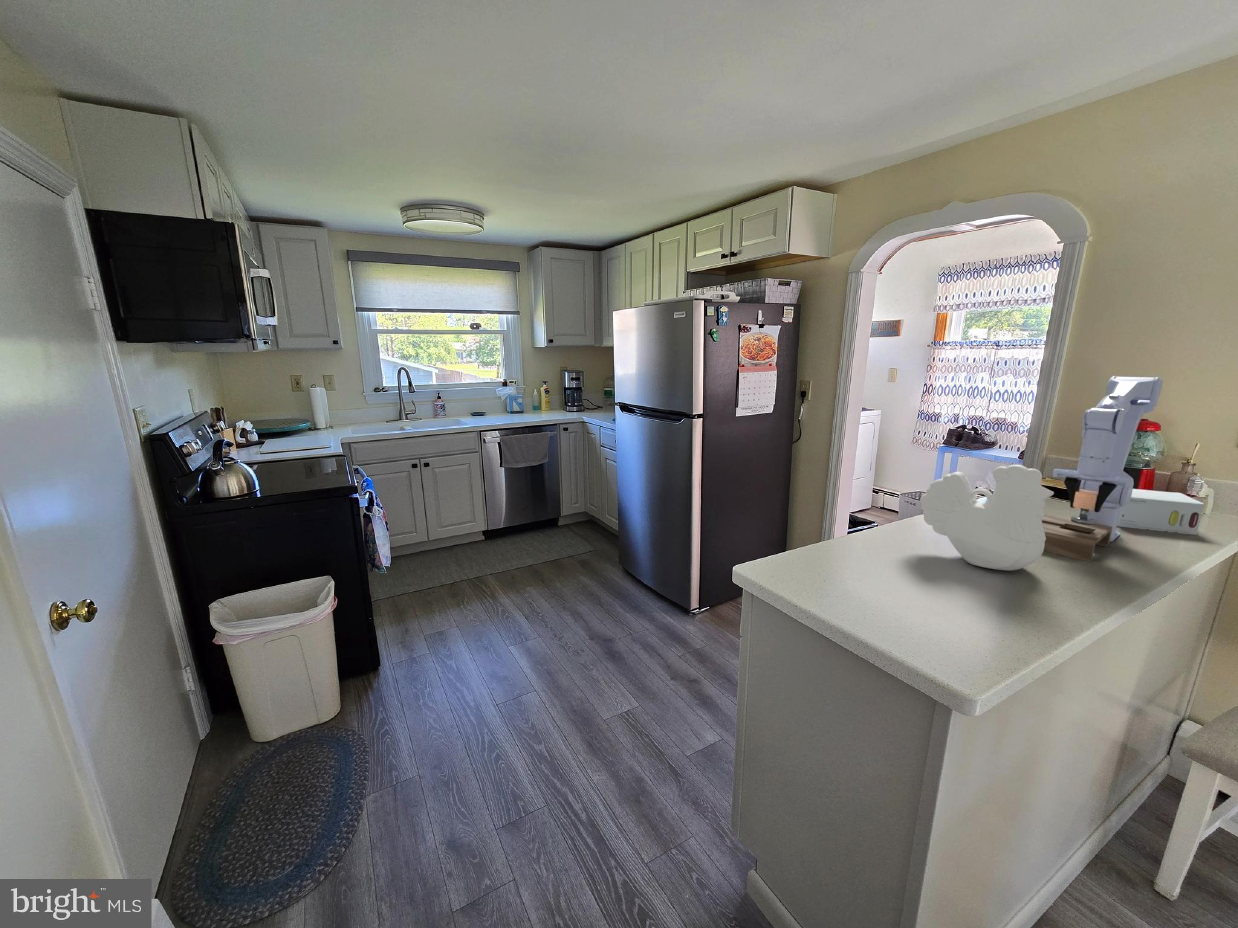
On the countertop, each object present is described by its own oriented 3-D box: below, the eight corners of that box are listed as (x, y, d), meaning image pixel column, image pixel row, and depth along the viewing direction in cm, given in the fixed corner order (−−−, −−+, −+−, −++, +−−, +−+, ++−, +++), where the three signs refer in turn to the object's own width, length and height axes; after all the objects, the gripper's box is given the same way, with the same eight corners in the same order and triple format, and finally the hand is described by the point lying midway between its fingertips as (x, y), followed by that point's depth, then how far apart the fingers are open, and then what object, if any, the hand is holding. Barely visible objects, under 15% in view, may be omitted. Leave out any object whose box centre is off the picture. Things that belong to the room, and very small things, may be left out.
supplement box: (1115, 527, 144) (1122, 495, 142) (1098, 514, 155) (1104, 485, 154) (1198, 536, 136) (1206, 503, 134) (1173, 522, 148) (1180, 491, 146)
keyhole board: (1032, 528, 143) (1035, 511, 142) (1108, 544, 130) (1112, 526, 129) (1009, 542, 133) (1012, 524, 132) (1089, 561, 120) (1093, 541, 119)
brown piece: (1073, 518, 130) (1079, 488, 128) (1096, 522, 126) (1102, 492, 125) (1068, 521, 127) (1074, 491, 126) (1091, 526, 124) (1097, 495, 122)
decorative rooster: (1052, 570, 115) (1072, 465, 110) (1018, 586, 108) (1038, 474, 102) (940, 537, 136) (952, 448, 131) (905, 548, 129) (916, 454, 124)
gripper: (1052, 454, 127) (1043, 505, 130) (1132, 463, 115) (1120, 519, 118) (1061, 451, 131) (1052, 500, 134) (1139, 459, 119) (1127, 513, 122)
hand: (1084, 509), depth 126 cm, fingers closed on brown piece, 4 cm apart
